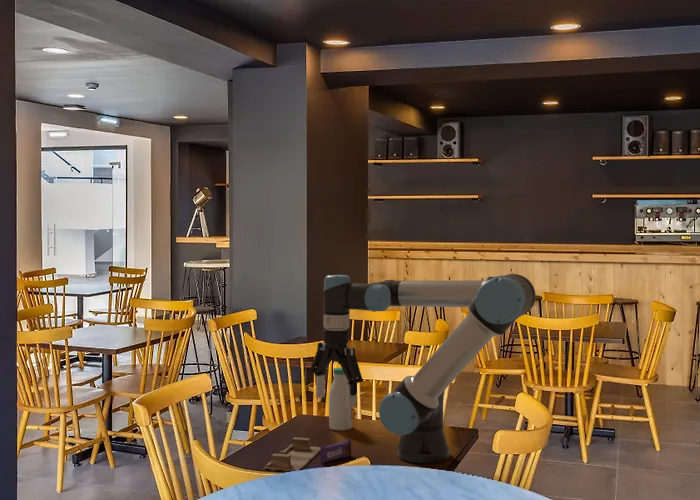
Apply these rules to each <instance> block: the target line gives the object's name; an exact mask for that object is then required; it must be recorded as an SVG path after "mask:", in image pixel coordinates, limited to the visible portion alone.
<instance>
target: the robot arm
mask: <svg viewBox="0 0 700 500" xmlns="http://www.w3.org/2000/svg"><path fill="white" fill-rule="evenodd" d="M323 281H324V282H323V289H322V290H323V291H322V292H323V328H324V329H323V330H322V331H323V332H322V340H323V342H318V343H317V349H316V352H315V355H314V359H313V360H312V364H311V367H310V372H311V373H313V374H314V376H315V379H314V382H315V387H316V388H315V398H316V399H321V398H322V399H323V398H325V397H326V396H325V395H326V375H325V372H326V370H327V368H328V366H329V364H330V363H331V362H332V361H333V362H335V363H337V364H338V365H340V366H341V367H340V368H342V369H343V371H344V373H345V375H346V377H347V381H348V383H347V407H352V408H353V407H356V402H357V401H356V400H357V399H356V396H357V393H358V384H359V383H362V382H363V377H362V373H361V370H360V367H359V366H360V365H359V363H358V359H357V356H356V349H355V347H350V348H348V346H347V345H348V343H349V342H350V330H349V328H350V310H358V311H370V312H385V311H387V310H388V309H389V307H429V308H430V307H433V308H434V307H437V308H438V307H439V308H441V307H442V308H467V310H468V314H467V315H466V316H465V318H463V319H462V321H461V322H460V323H459V325H457V326H456V328H455V329H454V330H453V331H452V332H451V333H450V334H449V335H448V336H447V338H446V339H445V340H444V341H443V343H442V344H441V345H440V346H439V347H438V348H437V349H436V351H434V353H433V354H432V355H431V356H430V357H429V359H427V360H426V362H425V363H424V364H423V365H422V366H421V368H420V369H419V370H418V371H417V372H416V374H415V375H407V376H405V377H404V378H403V380H402V381H401V382H399V384H398V385H397V386H396V388H395V389H394V390H393V391H391V392H389V393H387V394H386V395H385V396H384V397H383V398H382V399H381V401H380V403H379V406H378V415H379V420H380V422H381V424H382V425H383V427H384V428H385V429H386V430H387V431H388V432H390V433H391V434H394V435H396V436H400V439H399V443H398V445H397V457H398V459H400V460H403V461H405V462H409V463H415V464H436V463H440V462H441V463H442V462H444V461H446V460H449V458H450V457H451V455H450V446H449V445H448V442H447V437H446V434H445V431H444V430H445V429H444V392H445V391H446V389H448V387H449V386H450V385H451V384H452V382H453V381H454V380H456V378H457V377H458V376H459V375H460V374H461V372H463V370H464V369H465V368H466V367H467V366H468V365H469V364H470V363H471V362H472V360H474V358H475V357H476V356H477V355H478V354H479V353H480V351H481V350H483V348H484V347H485V346H486V345H487V344H488V342H490V341H491V339H492V338H493V337H494V336H497V337H500V336H503V335H504V334H505V333H506V332H507V330H509V329H510V327H511V326H512V325H514V323H515V322H516V321H517V320H518V319H519V318H520V317H522V316H524V315H527V313H529V312H530V311H531V310H532V309H533V307H534V305H535V302H536V297H537V296H536V295H537V294H536V290H535V286H534V285H533V283H532V282H531V281H530V280H529V279H528V278H527V277H525V276H523V275H522V274H518V273H517V274H516V273H509V274H505V275H497V276H488V277H486V278H485V280H478V279H477V280H470V279H469V280H467V279H465V280H461V279H460V280H395V279H386V280H383V281H378V282H377V281H376V282H370V283H361V282H359V283H358V282H356V283H355V282H351V278H350V276H349V275H347V274H346V275H345V274H327V275H326V276H325V277H324V280H323Z"/></svg>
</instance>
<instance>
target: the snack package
mask: <svg viewBox="0 0 700 500" xmlns="http://www.w3.org/2000/svg"><path fill="white" fill-rule="evenodd" d="M320 448H321V449H320V450H321V452H320V465H321V464H322V465H323V464H324V463H327V462H330V461H334V460H338V459H342V458H346V457H351V456H352V439H350V438H349V439H347V440H345V441H340V442H337V443H334V444H333V443H332V444H329V445H325V446H323V445H322V446H320Z"/></svg>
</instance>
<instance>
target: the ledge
mask: <svg viewBox="0 0 700 500" xmlns="http://www.w3.org/2000/svg"><path fill="white" fill-rule="evenodd" d="M320 447H321V446H320ZM320 447H319V446H311V438H309V437H295V436H294V437H293V438H292V439H291V444H290V445H288V446H287V447H286V448H285V449H283V450H279V453H273V454H271V455H270V456H271V459H270V461H269V462H268V463H266V465H265V466H264V470H265V469H269V470H268V471H276V470H283V471H282V472H289V471H292V470H299V469H302V470H303V469H304V468H305V467H306V466H307V465H308V464H309V463H310V462H311V461H312V460H314V458H316V457H317V456H318V454H319V453H320V454H321V450H320V449H321V448H320Z"/></svg>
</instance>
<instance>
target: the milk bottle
mask: <svg viewBox="0 0 700 500" xmlns="http://www.w3.org/2000/svg"><path fill="white" fill-rule="evenodd" d="M332 371H333V381H332V384H331V386H330V388H329V392H328V393H329V395H328V419H329V420H328V423H329V424H328V425H329V429H330V430H332V431H348V430H351V429H352V428H353V406H352V407H347V383H348V379H347V377H346V375H345V373H344V371H343V369H342V367H335V368H333V370H332Z"/></svg>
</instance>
